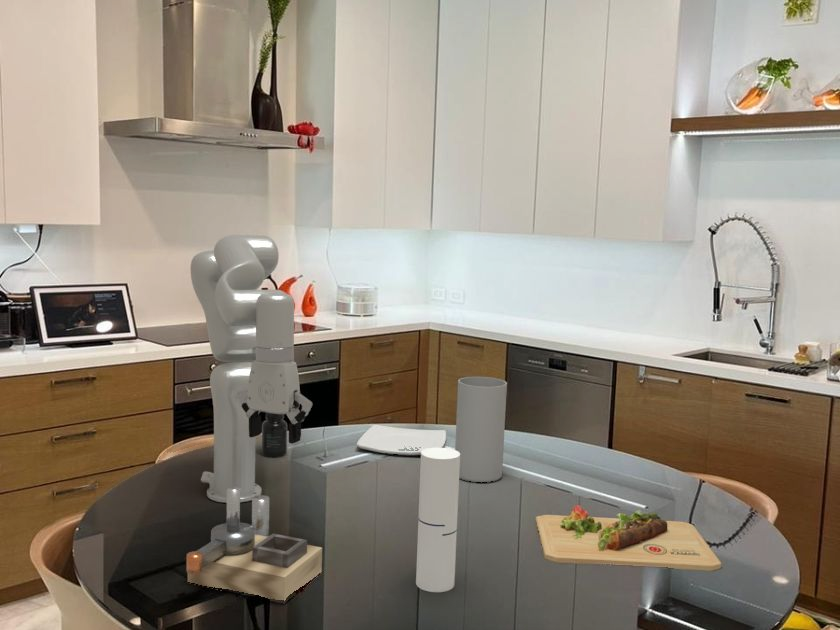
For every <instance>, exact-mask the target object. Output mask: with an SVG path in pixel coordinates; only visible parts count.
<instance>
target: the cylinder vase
mask: <svg viewBox="0 0 840 630" xmlns="http://www.w3.org/2000/svg"><path fill="white" fill-rule="evenodd" d="M457 381H458V382H457V395H456V397H457V400H456V401H457V402H456V419H455V420H456V422H455V425H456V426H455V444H454V445H455V447H454V448H455V449H454V450H456V451H458V452H459V453H460V470H459V480H463V481H466V482H469V481H471V482H470V483H476V482H481V483H480V484H483V483H482V482H487V483H492V482H491V481H493V482H496V481H498V480H500V479H501V478H502V477H503V465H504V449H505V448H504V447H505V446H504V445H505V429H506V428H505V426H506V410H507V409H506V407H507V393H508V392H507V389H508V382H507V381H506V380H503V379H500V378H495V377H487V376H466V377H461V378H459V379H458V380H457Z"/></svg>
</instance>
